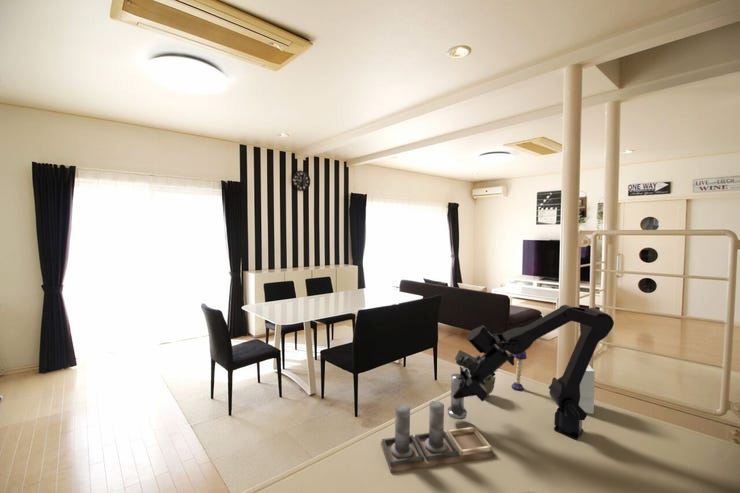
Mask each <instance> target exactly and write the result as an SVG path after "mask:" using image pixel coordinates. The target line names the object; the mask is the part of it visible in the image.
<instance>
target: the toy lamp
mask: <svg viewBox="0 0 740 493" xmlns="http://www.w3.org/2000/svg"><path fill="white" fill-rule="evenodd" d="M526 351H527V350H526ZM526 351H524V352H523V353H522V354H519V355H514V354H513V355H514V359H516V360H517V361H516V370H515V371H516V372H515V380H514V381H515V382H513V383H512V384H511V388H512V389H513V390H515V391H518V392H519V391H520V392H521V391H524V386H523V384H522V383H521V377H522V368H523V367H522V364H523V362H522V361H523V360H527V352H526Z"/></svg>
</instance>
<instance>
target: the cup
mask: <svg viewBox="0 0 740 493" xmlns="http://www.w3.org/2000/svg"><path fill="white" fill-rule="evenodd" d="M484 381H485V384H484V385H483V386H484V387H485V388H486V391H487V393H488V396H487V398H489V397H490V394H491V393H492V392H493V391H494V388H495V382H496V376H494V377H493V376H492V375H490V376H489V377H488V378H487V379H486V380H484Z"/></svg>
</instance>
